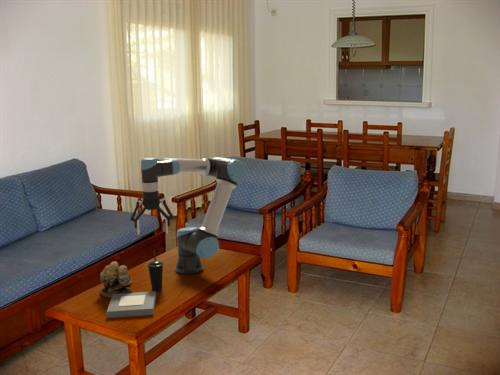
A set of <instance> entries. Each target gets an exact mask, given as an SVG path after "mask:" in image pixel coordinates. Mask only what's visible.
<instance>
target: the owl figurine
mask: <svg viewBox="0 0 500 375" xmlns="http://www.w3.org/2000/svg"><path fill="white" fill-rule="evenodd" d="M99 276H100V277H99V278H100V281H101V284H102V286H103V287H104V288H101V290H100V291H99V296H100V297H102V298H104V299H108V300H111V298H112V295H113V294H121V293H134V292H133V290H131V289H130V287H131V286H132V284H134V281H133V280H131V275H130V273H129V272H128V267H127V266H126V265H119V263H118V262H117V261H111V262H110V264H108V265H105V267H104V268H103V270H102V271H101V272H100V275H99ZM130 280H131V281H130Z"/></svg>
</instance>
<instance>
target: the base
mask: <svg viewBox="0 0 500 375" xmlns="http://www.w3.org/2000/svg"><path fill="white" fill-rule="evenodd" d="M156 300H157V292H156V291H139V292H138V291H137V292H133V293H121V294H113V295H112V298H111V299H110V301H109V303H108V307H107V310H106V318H107V319H113V318H116V319H117V318H128V317H141V316H142V317H143V316H154V314H155V306H156Z"/></svg>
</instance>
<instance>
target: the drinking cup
mask: <svg viewBox="0 0 500 375" xmlns="http://www.w3.org/2000/svg"><path fill="white" fill-rule="evenodd" d="M156 256H157V255H156V250H154V251H153V257H154V258H153V260H152V261H150V262H148V263H147V264H146V266H147V268H148V274H149V279H150V284H151V290H152V291H156V293H158V292H162V291H163V274H164V273H163V270H164V269H163V268H164V262H163V261H161V260H157V257H156Z"/></svg>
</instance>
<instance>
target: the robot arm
mask: <svg viewBox="0 0 500 375" xmlns="http://www.w3.org/2000/svg"><path fill="white" fill-rule="evenodd" d="M140 172H141V175H140V176H141V187H142V188H141V189H142V190H141V191H142V200H141V201H140V200H137V201H136V204H135V208H134V210H133V212H132V215H131V217H130V221H131V222H134V228H135V229H136V232H137V236H140V234H141V233H140V218H141V216H142V215H143V214H144V213H145V212H146V211H152V210H153V211H156V210H157V211H158V212H159V213H160V214H161V215H162V216H163V217H164V218H165V232H166V234H167V235H168V234H169V227H170V226H171V220H172V219H174V214H173V213H172V211H171V210H170V209H171V208H170V207H169V206H168V205H167V200H166V198H165V199H162V200H160V193H159V192H160V191H159V178H161V177H167V176H174V175H178V174H201V175H202V176H208V177H212V178H216V179H215V180H216V183H217V185H215V186H216V187H215V190H214V191H213V194H212V198H211V199H210V203H209V205H208V208H207V211H206V213H205V215H204V219H203V220H202V224H201V226H198V227H197V226H187V227H183V228H179V229H177V231H176V244H177V259H176V262H175V269H174V270H175V272H177V273H178V274H184V275H189V274H191V275H192V274H197V273H200V272H202V271H203V270H204V263H203V260H202V259H211V258H213V257H214V256H216V255H217V253H218V251H219V249H220V242H219V240H218V238H219V233H218V230H219V227H220V225H221V221H222V220H223V217H224V214H225V211H226V208H227V206H228V202H229V201H230V200H229V199H230V198H231V196H232V195H231V194H232V192H233V190H234V189H236V188H237V187H238V184H239V183H241V182H242V181H244V179H245V178H246V175H247V174H246V173H247V170H246V167H245V164H244V162H242V161H241V160H239V159H236V158H228V157H223V156H219V157H218V156H216V157H203V158H201V159H199V158H198V159H197V158H194V159H193V158H176V157H175V158H171V157H155V156H147V157H145V158H142V159H141V160H140ZM160 204H161V205H162V206H163V207H164V208H165V211H166V212H167V213H166V212H165V211H164V209H162V208H161V206H160ZM141 205H142V206H143V208H142V209H141V211H140V212H139V213H138V214H137V212H138V209H139V207H141ZM136 214H137V216H136ZM135 216H136V217H135ZM201 270H202V271H201ZM199 271H200V272H199Z"/></svg>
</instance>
